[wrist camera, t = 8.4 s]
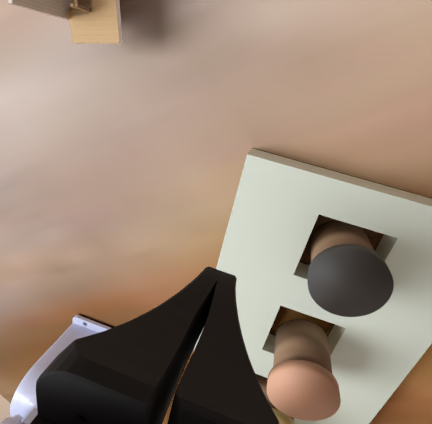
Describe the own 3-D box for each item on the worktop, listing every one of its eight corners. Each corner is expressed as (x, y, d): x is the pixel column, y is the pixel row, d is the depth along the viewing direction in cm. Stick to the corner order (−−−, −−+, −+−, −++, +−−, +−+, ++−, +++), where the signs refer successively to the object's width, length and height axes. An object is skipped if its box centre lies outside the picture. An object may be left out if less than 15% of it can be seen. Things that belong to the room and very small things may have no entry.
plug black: (297, 260, 23) (297, 301, 19) (319, 208, 21) (324, 240, 17) (357, 280, 22) (371, 327, 18) (385, 228, 20) (409, 266, 16)
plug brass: (243, 388, 30) (234, 439, 26) (256, 358, 28) (248, 408, 24) (288, 406, 29) (287, 461, 25) (304, 376, 27) (306, 431, 23)
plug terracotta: (265, 348, 25) (258, 403, 21) (282, 308, 23) (278, 360, 19) (319, 368, 24) (324, 430, 20) (342, 329, 22) (352, 387, 18)
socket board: (186, 382, 32) (180, 399, 30) (251, 148, 21) (247, 154, 19) (335, 441, 30) (337, 463, 28) (497, 217, 19) (519, 231, 17)
